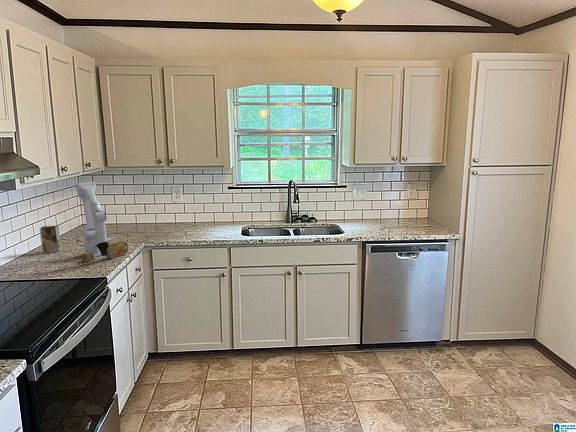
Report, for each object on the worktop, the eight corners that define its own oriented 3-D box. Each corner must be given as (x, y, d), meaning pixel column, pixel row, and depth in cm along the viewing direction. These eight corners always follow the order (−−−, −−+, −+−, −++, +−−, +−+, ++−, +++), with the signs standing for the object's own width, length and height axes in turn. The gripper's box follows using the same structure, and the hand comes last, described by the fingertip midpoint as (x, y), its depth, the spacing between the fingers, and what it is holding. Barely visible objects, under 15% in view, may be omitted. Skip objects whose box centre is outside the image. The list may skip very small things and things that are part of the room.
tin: (108, 260, 243) (106, 246, 241) (104, 259, 244) (102, 245, 243) (128, 253, 256) (127, 240, 254) (125, 253, 257) (123, 239, 256)
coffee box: (62, 249, 271) (58, 225, 268) (58, 252, 264) (55, 227, 262) (46, 250, 269) (43, 226, 266) (42, 253, 263) (39, 228, 260)
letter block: (82, 261, 242) (81, 253, 242) (89, 259, 246) (88, 251, 245) (86, 262, 240) (85, 254, 239) (94, 260, 244) (93, 252, 243)
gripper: (93, 235, 232) (96, 259, 234) (116, 230, 244) (118, 253, 246) (85, 234, 236) (88, 258, 238) (108, 229, 248) (111, 251, 250)
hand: (103, 255), depth 242 cm, fingers closed
